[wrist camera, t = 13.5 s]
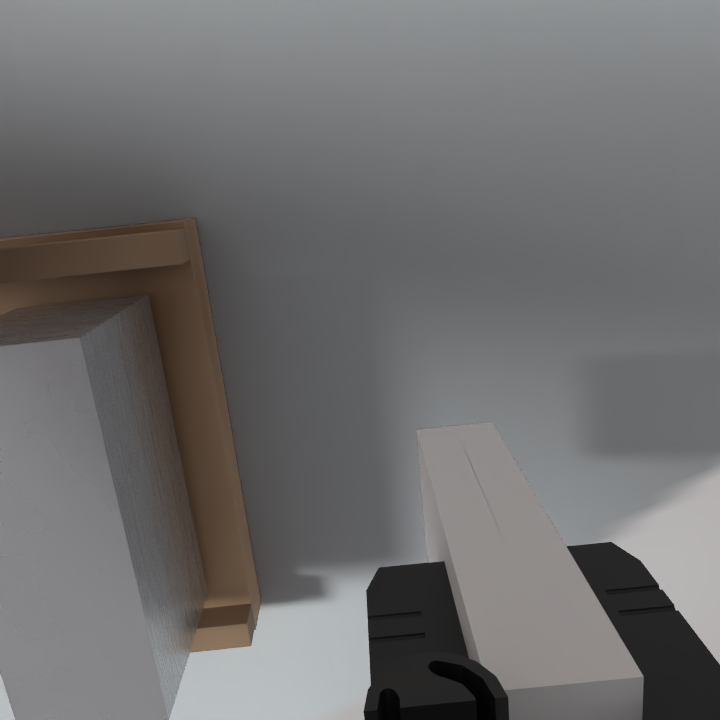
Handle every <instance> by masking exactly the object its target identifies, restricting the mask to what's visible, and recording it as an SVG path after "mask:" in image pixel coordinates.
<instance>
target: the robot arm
mask: <svg viewBox="0 0 720 720" xmlns="http://www.w3.org/2000/svg"><path fill="white" fill-rule="evenodd" d="M416 432H417V445H418V457H419V469H420V481H421V494H422V506H423V518H424V530H425V543H426V552H427V557H428V562H429V563H420V564H410V565H400V566H390V567H380V568H379V569H378V570H377V572H376V574H375V576H374V578H373V580H372V581H371V583H370V585H369V587H368V589H367V590H366V592H367V612H368V633H369V653H370V674H371V686H370V688H369V689H368V693H367V698H366V703H365V708H364V717H365V720H720V665H719V663H718V662H717V661H716V659H715V658H714V657H713V655H712V654H711V653H710V651H709V650H708V649H707V647H706V646H705V645H704V644H703V642H702V641H701V640H700V638H699V637H698V636H697V634H696V633H695V632H694V630H693V629H692V628H691V627H690V625H689V624H688V623H687V621H686V620H685V619H684V617H683V616H682V615H681V613H680V612H679V611H676V610H675V608H674V604H673V603H672V602H671V600H670V599H669V598H668V596H667V595H666V594H665V592H664V591H663V590H660V589H659V585H658V583H657V582H656V581H655V579H654V578H653V577H652V575H651V574H650V573H649V571H648V570H647V569H646V568H645V566H644V565H643V564H642V562H641V561H640V560H638V559H637V558H635V557H634V556H632V555H630V554H629V553H627V552H626V551H624V550H623V549H621V548H620V547H618V546H617V545H615V544H613V543H612V542H607V543H597V544H587V545H577V546H567V547H566V545H565V543H564V542H563V540H562V538H561V537H560V535H559V533H558V532H557V530H556V528H555V526H554V525H553V523H552V521H551V520H550V518H549V516H548V515H547V513H546V511H545V510H544V508H543V506H542V505H541V503H540V501H539V500H538V498H537V496H536V494H535V493H534V491H533V489H532V488H531V486H530V484H529V483H528V481H527V479H526V478H525V476H524V474H523V473H522V471H521V469H520V468H519V466H518V464H517V462H516V461H515V459H514V457H513V456H512V454H511V452H510V451H509V449H508V447H507V446H506V444H505V442H504V441H503V439H502V437H501V436H500V434H499V432H498V430H497V429H496V427H495V425H494V424H493V422H486V423H476V424H466V425H456V426H447V427H437V428H427V429H417V430H416Z"/></svg>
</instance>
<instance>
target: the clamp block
mask: <svg viewBox="0 0 720 720" xmlns="http://www.w3.org/2000/svg"><path fill="white" fill-rule="evenodd" d="M207 595H208V592H207V587H206V582H205V577H204V572H203V566H202V561H201V556H200V551H199V546H198V541H197V536H196V531H195V526H194V521H193V516H192V511H191V506H190V501H189V496H188V491H187V486H186V481H185V476H184V470H183V465H182V460H181V455H180V450H179V445H178V440H177V435H176V430H175V425H174V420H173V415H172V410H171V405H170V400H169V395H168V390H167V385H166V379H165V374H164V369H163V364H162V359H161V354H160V349H159V344H158V339H157V334H156V329H155V324H154V319H153V314H152V309H151V304H150V299H149V294H146V295H137V296H127V297H118V298H108V299H99V300H89V301H80V302H70V303H61V304H51V305H42V306H32V307H23V308H16V309H14V310H11V311H9V312H6V313H4V314H2V315H0V673H1V676H2V679H3V682H4V685H5V688H6V691H7V695H8V698H9V701H10V704H11V707H12V710H13V713H14V716H15V719H16V720H169V717H170V714H171V711H172V708H173V705H174V701H175V698H176V695H177V692H178V689H179V685H180V682H181V679H182V676H183V672H184V669H185V666H186V663H187V660H188V656H189V653H190V650H191V647H192V644H193V640H194V637H195V634H196V631H197V627H198V624H199V621H200V618H201V615H202V611H203V608H204V605H205V602H206V599H207Z"/></svg>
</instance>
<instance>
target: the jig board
mask: <svg viewBox="0 0 720 720" xmlns="http://www.w3.org/2000/svg"><path fill="white" fill-rule="evenodd" d="M146 294H149V299H150V304H151V309H152V314H153V319H154V324H155V329H156V334H157V339H158V344H159V349H160V354H161V359H162V364H163V369H164V374H165V379H166V385H167V390H168V395H169V400H170V405H171V410H172V415H173V420H174V425H175V430H176V435H177V440H178V445H179V450H180V455H181V460H182V465H183V470H184V476H185V481H186V486H187V491H188V496H189V501H190V506H191V511H192V516H193V521H194V526H195V531H196V536H197V541H198V546H199V551H200V556H201V561H202V566H203V572H204V577H205V582H206V587H207V592H208V595H207V599H206V602H205V605H204V608H203V611H202V615H201V618H200V621H199V624H198V627H197V631H196V634H195V637H194V640H193V644H192V647H191V650H190V652H199V651H208V650H218V649H227V648H236V647H246V646H251V643H252V638H253V632H254V630H256V625H257V619H258V614H259V608H260V603H261V599H260V594H259V588H258V582H257V576H256V570H255V564H254V558H253V553H252V547H251V541H250V535H249V529H248V523H247V517H246V512H245V506H244V500H243V494H242V488H241V482H240V476H239V471H238V465H237V459H236V453H235V447H234V441H233V435H232V430H231V424H230V418H229V412H228V406H227V400H226V394H225V389H224V383H223V377H222V371H221V365H220V359H219V353H218V348H217V342H216V336H215V330H214V324H213V318H212V312H211V307H210V301H209V295H208V289H207V283H206V277H205V271H204V266H203V260H202V254H201V248H200V242H199V236H198V230H197V225H196V219H195V218H190V219H181V220H171V221H162V222H152V223H143V224H133V225H124V226H114V227H105V228H95V229H86V230H76V231H67V232H57V233H48V234H38V235H29V236H19V237H10V238H0V315H2V314H4V313H6V312H9V311H11V310H14V309H16V308H23V307H32V306H42V305H51V304H61V303H70V302H80V301H89V300H99V299H108V298H118V297H127V296H137V295H146Z"/></svg>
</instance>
